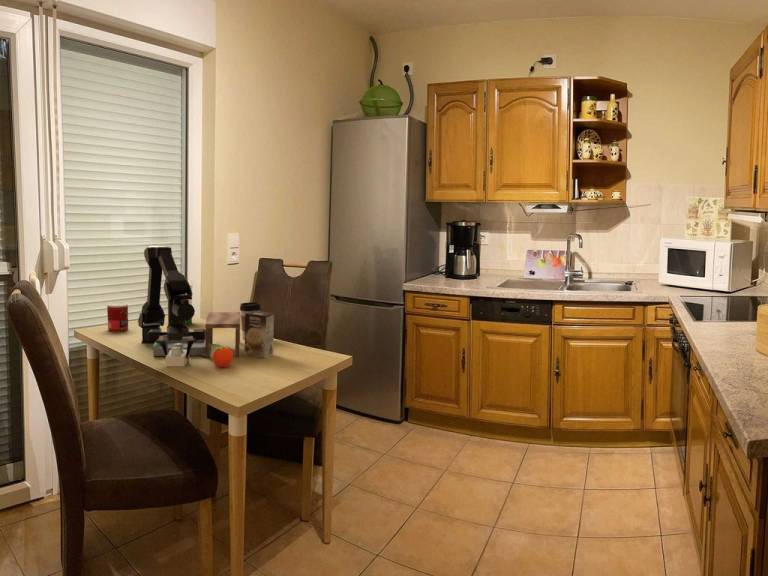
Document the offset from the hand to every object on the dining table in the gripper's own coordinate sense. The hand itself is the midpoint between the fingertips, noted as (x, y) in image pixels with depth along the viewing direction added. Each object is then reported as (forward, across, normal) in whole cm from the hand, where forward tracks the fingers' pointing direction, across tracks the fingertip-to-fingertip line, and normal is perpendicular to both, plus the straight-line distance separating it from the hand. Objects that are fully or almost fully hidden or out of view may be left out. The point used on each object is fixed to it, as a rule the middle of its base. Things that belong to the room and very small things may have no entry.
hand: (177, 358), depth 201 cm
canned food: (+2, -29, +51) cm, 59 cm away
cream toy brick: (+2, 0, 0) cm, 2 cm away
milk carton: (+2, -5, +61) cm, 61 cm away
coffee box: (+2, +28, +8) cm, 29 cm away
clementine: (+2, +15, -6) cm, 16 cm away
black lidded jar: (+2, +25, +33) cm, 41 cm away
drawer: (+1, 0, +16) cm, 16 cm away
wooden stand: (+2, +15, +16) cm, 22 cm away
